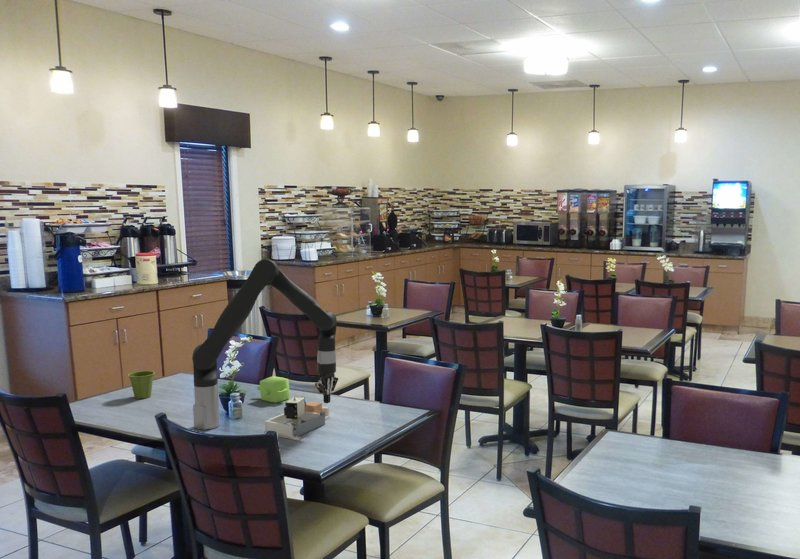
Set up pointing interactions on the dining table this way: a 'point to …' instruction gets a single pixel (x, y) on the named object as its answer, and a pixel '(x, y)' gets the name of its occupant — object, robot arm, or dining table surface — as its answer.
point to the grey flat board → (310, 424)
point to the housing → (287, 430)
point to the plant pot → (141, 383)
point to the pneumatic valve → (295, 410)
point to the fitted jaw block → (314, 407)
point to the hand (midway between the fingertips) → (326, 402)
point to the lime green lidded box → (274, 389)
